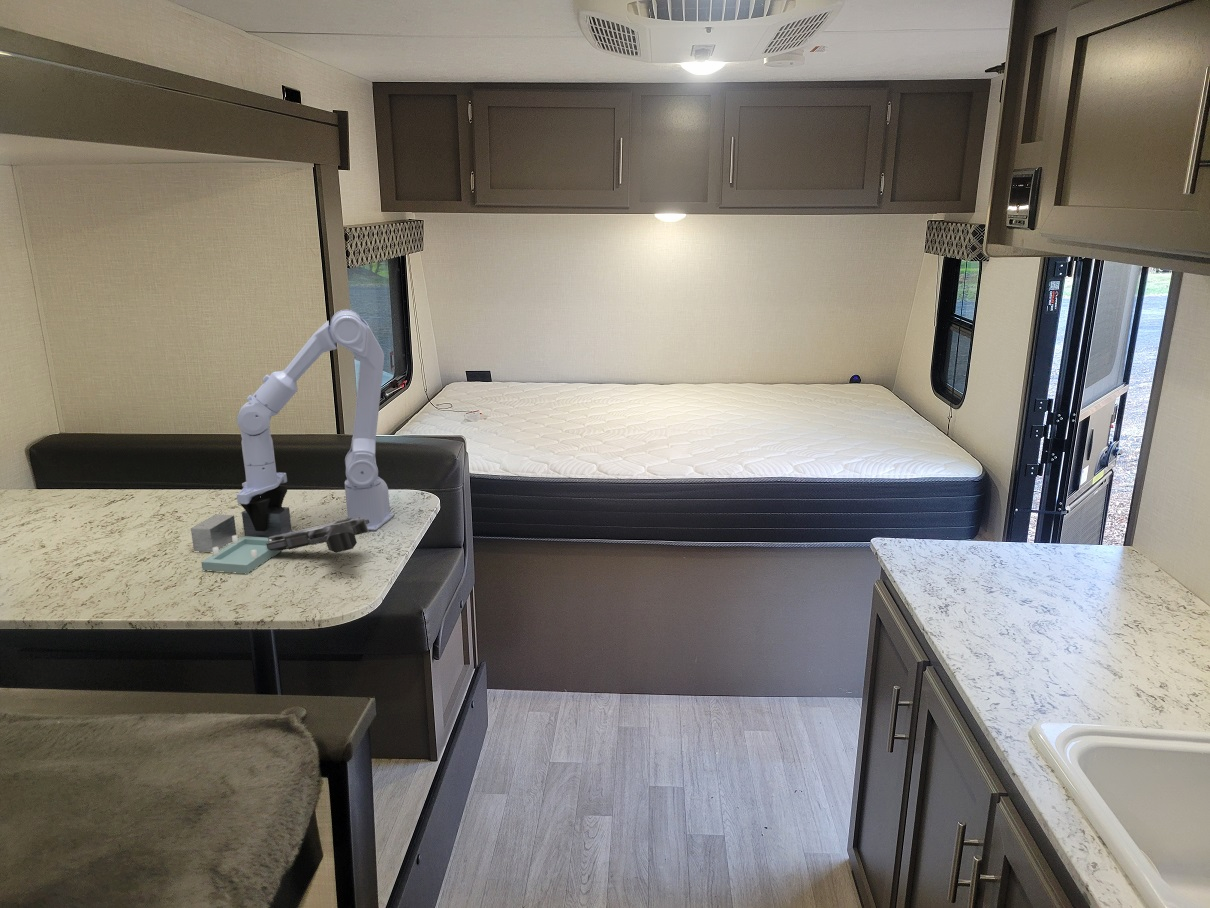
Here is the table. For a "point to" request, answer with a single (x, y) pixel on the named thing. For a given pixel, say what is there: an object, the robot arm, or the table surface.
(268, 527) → the dark grey rectangular block
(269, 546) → the handgun
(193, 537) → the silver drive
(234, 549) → the tray
